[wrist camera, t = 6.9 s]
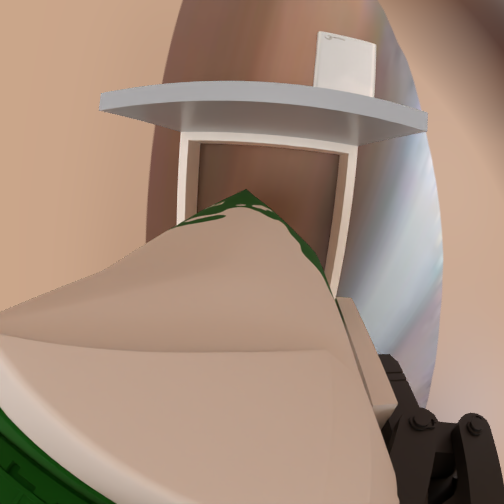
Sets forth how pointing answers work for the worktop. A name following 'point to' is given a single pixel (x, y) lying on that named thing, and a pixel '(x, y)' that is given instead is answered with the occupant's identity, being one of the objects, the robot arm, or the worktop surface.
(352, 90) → the hard drive
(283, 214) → the worktop surface
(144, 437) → the soya milk
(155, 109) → the equipment case
